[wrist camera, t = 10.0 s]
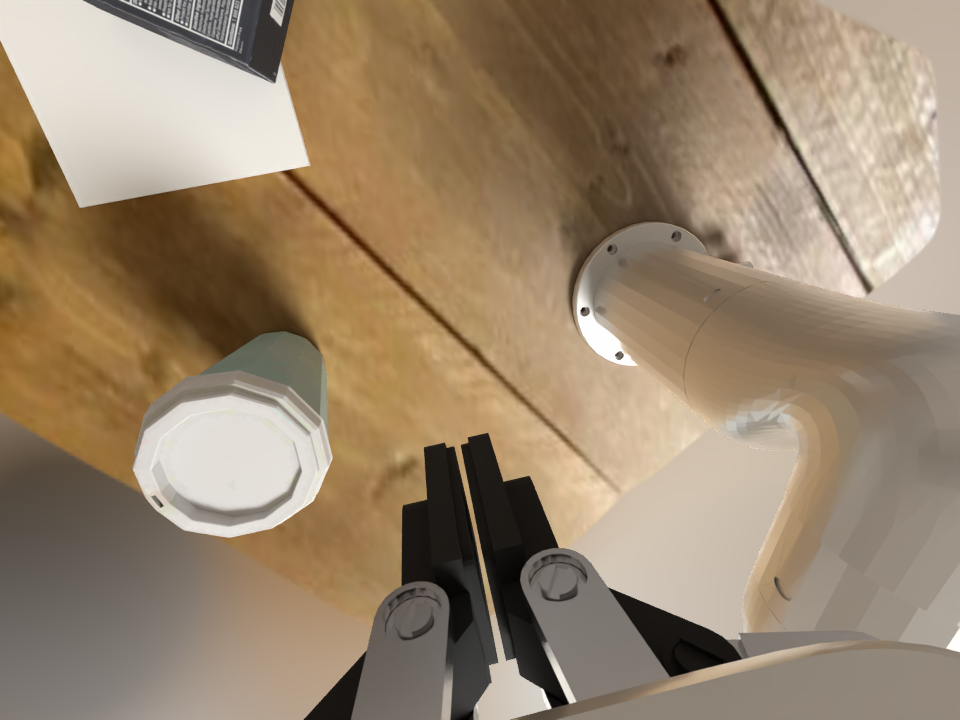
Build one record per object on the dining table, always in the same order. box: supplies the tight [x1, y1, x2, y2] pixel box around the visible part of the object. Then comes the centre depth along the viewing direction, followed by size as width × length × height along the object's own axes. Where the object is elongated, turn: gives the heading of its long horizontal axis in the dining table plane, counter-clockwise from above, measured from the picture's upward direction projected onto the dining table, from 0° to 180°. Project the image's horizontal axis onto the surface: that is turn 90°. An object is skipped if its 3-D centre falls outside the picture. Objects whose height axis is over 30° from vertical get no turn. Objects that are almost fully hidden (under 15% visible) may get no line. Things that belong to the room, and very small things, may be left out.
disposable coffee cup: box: [132, 331, 332, 538], centre depth 34 cm, size 11×11×15 cm
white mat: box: [0, 0, 311, 208], centre depth 31 cm, size 16×16×1 cm
